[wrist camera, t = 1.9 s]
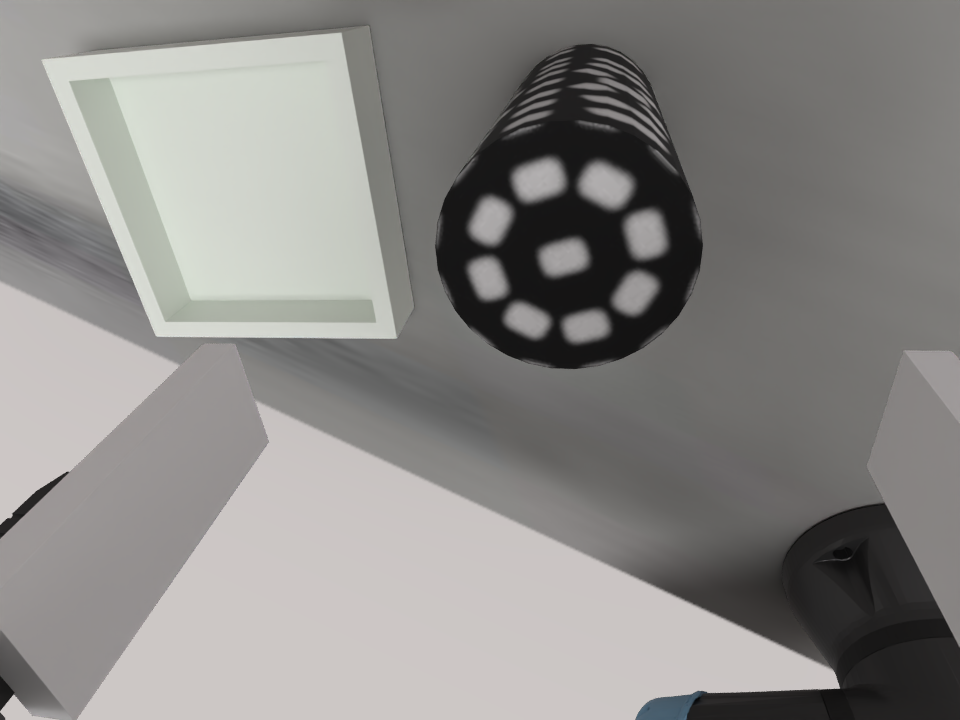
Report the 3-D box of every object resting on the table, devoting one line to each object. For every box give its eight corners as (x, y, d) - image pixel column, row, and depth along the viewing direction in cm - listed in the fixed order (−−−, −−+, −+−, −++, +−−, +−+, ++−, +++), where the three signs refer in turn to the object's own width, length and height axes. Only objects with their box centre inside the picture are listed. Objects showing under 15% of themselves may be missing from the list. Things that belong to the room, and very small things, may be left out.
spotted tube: (537, 210, 39) (487, 389, 23) (492, 76, 36) (394, 173, 19) (670, 169, 37) (724, 338, 20) (637, 19, 33) (670, 75, 16)
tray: (414, 307, 45) (397, 338, 41) (191, 307, 48) (156, 336, 44) (369, 25, 35) (341, 32, 32) (95, 50, 39) (41, 59, 35)
